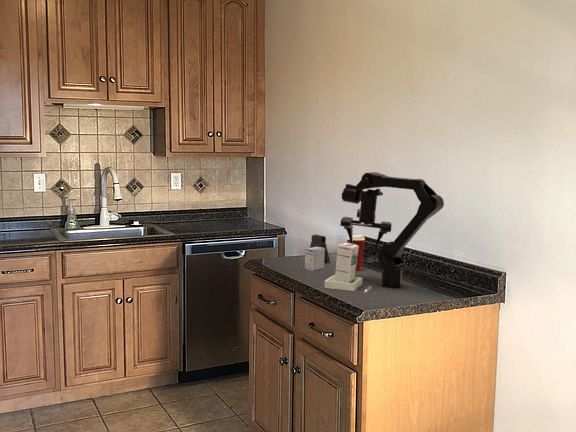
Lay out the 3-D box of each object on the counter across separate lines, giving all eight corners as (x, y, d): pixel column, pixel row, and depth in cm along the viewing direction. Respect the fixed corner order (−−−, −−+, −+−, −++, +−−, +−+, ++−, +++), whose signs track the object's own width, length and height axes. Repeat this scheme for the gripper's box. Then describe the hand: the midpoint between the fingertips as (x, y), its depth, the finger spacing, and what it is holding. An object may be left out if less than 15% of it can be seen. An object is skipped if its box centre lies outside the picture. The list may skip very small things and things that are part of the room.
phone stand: (314, 265, 273) (315, 237, 271) (305, 262, 277) (306, 235, 276) (330, 262, 278) (331, 235, 277) (321, 260, 283) (321, 233, 281)
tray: (362, 284, 237) (362, 277, 237) (354, 291, 227) (354, 283, 227) (333, 281, 241) (333, 274, 241) (324, 287, 231) (324, 280, 231)
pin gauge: (373, 288, 231) (370, 290, 232) (370, 285, 231) (368, 287, 232) (367, 292, 224) (364, 294, 224) (365, 290, 224) (362, 292, 224)
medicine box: (315, 266, 269) (316, 246, 268) (324, 268, 266) (325, 247, 265) (304, 269, 263) (304, 248, 262) (313, 271, 260) (313, 250, 259)
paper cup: (367, 269, 266) (368, 235, 264) (356, 271, 260) (357, 237, 259) (352, 266, 271) (353, 233, 269) (341, 269, 266) (342, 235, 264)
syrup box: (348, 286, 230) (352, 247, 228) (333, 282, 233) (338, 244, 231) (354, 283, 235) (359, 245, 233) (340, 280, 238) (345, 241, 235)
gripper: (394, 205, 246) (389, 245, 248) (345, 200, 249) (341, 239, 252) (393, 210, 235) (388, 251, 238) (342, 204, 238) (338, 245, 241)
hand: (363, 246), depth 242 cm, fingers open, 9 cm apart
